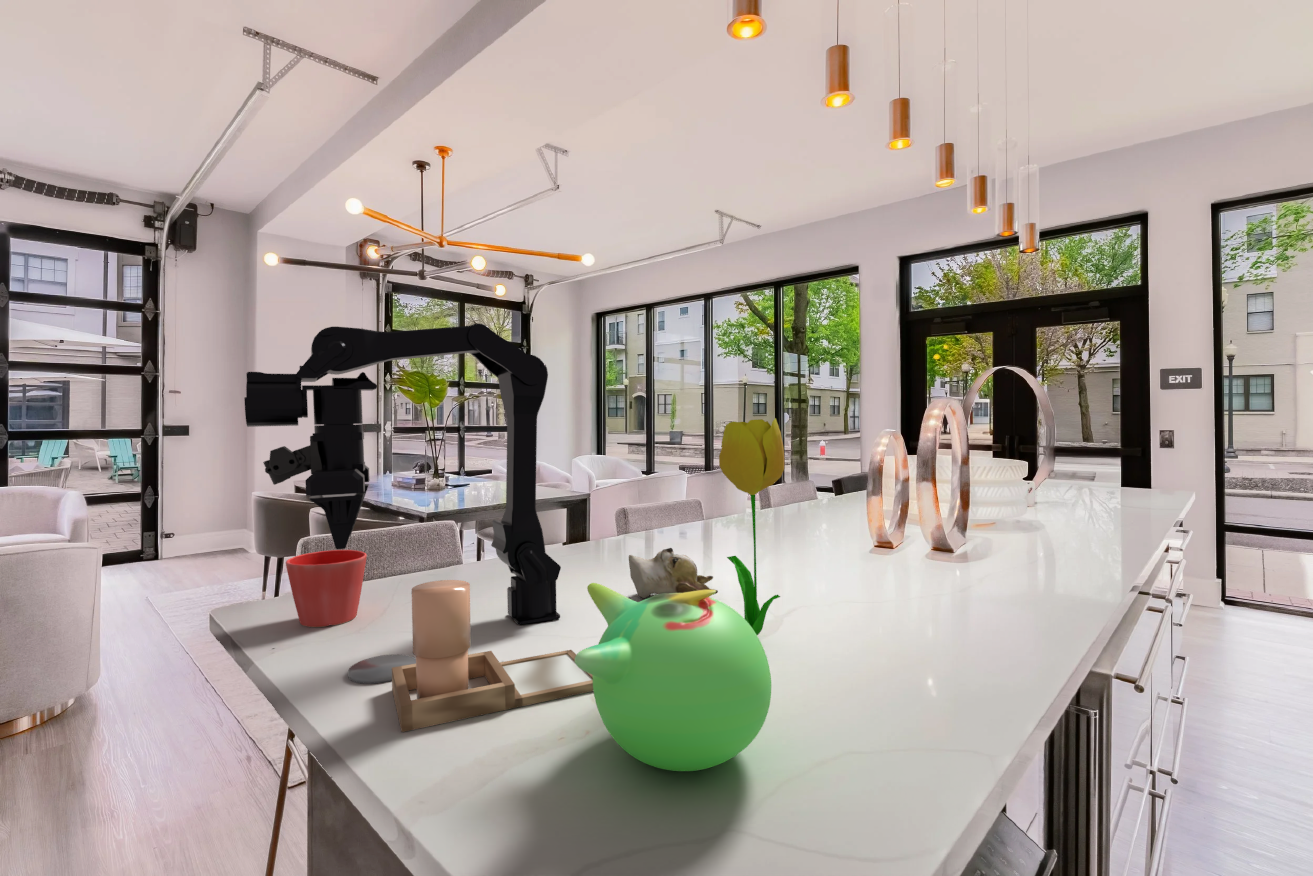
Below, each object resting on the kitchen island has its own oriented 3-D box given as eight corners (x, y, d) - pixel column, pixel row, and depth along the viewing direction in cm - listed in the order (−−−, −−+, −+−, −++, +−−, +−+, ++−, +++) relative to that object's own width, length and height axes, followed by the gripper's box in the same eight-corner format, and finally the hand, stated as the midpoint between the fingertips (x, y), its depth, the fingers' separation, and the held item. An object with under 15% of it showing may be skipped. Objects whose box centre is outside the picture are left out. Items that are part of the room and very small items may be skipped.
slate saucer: (413, 655, 81) (413, 650, 81) (420, 675, 75) (420, 670, 75) (347, 665, 78) (347, 661, 78) (348, 688, 71) (348, 683, 71)
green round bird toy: (797, 806, 49) (796, 616, 48) (575, 819, 47) (573, 624, 47) (745, 703, 66) (744, 564, 66) (584, 710, 65) (582, 568, 65)
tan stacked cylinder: (466, 688, 71) (464, 577, 71) (476, 709, 66) (474, 589, 65) (410, 699, 68) (408, 584, 68) (417, 721, 63) (414, 597, 63)
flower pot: (336, 633, 90) (334, 565, 90) (270, 628, 93) (268, 562, 92) (382, 611, 101) (381, 550, 101) (322, 608, 103) (321, 548, 103)
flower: (792, 636, 87) (791, 417, 86) (778, 656, 80) (776, 417, 79) (732, 628, 91) (730, 418, 90) (713, 646, 83) (711, 418, 83)
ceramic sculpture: (630, 539, 113) (714, 544, 113) (628, 587, 113) (711, 592, 113) (627, 552, 102) (720, 557, 102) (624, 605, 102) (717, 610, 102)
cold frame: (571, 656, 80) (570, 637, 80) (604, 688, 70) (603, 666, 70) (392, 689, 71) (391, 667, 71) (401, 732, 61) (401, 706, 61)
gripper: (280, 426, 89) (285, 536, 89) (252, 426, 72) (258, 563, 72) (367, 424, 93) (371, 529, 94) (360, 424, 76) (365, 553, 76)
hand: (343, 542), depth 84 cm, fingers open, 9 cm apart
